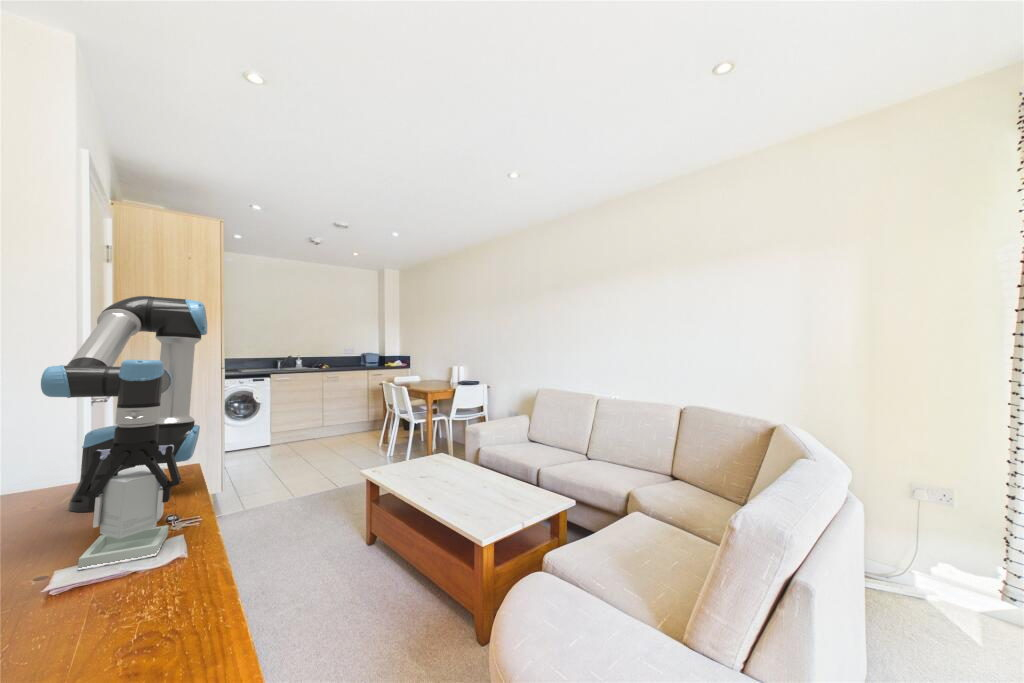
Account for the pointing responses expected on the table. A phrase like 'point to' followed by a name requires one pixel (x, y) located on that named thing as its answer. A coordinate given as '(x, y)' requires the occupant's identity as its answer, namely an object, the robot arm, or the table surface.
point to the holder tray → (124, 547)
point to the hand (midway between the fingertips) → (129, 520)
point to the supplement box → (129, 504)
